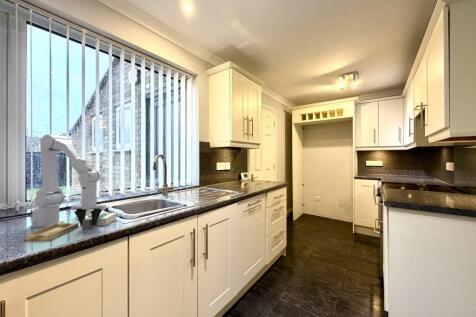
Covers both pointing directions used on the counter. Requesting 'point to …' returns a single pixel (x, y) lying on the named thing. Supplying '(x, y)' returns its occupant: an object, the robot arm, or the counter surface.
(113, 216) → the bay
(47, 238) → the tray
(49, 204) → the robot arm
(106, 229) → the counter surface
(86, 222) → the gray green block
